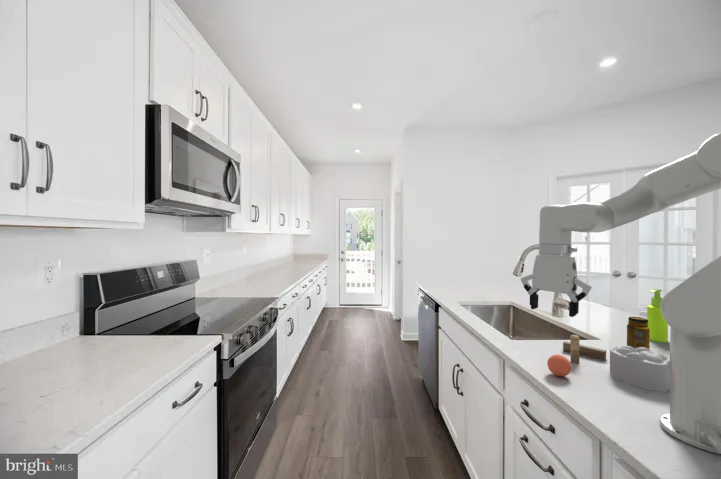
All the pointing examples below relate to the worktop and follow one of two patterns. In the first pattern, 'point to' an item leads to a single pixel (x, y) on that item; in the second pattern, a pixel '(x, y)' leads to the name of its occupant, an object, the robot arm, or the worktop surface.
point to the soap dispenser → (656, 319)
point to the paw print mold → (640, 367)
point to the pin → (574, 349)
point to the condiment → (638, 332)
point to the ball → (559, 365)
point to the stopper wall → (587, 351)
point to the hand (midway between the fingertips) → (552, 312)
